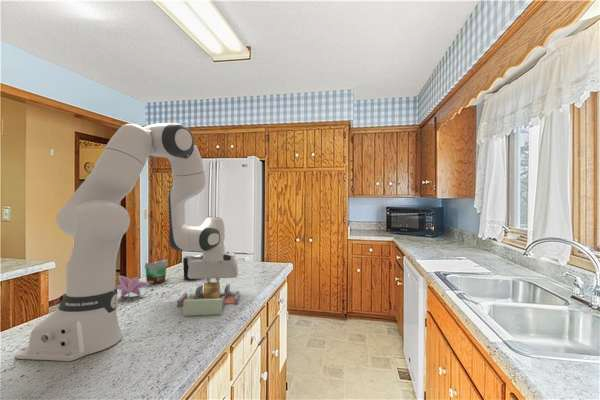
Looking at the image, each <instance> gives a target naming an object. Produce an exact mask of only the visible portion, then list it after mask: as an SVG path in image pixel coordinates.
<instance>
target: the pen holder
mask: <svg viewBox="0 0 600 400" xmlns="http://www.w3.org/2000/svg"><path fill="white" fill-rule="evenodd" d="M189 258H190V257H188V258H187V257H184V258H182V262H183V263H182V264H183V268H182V269H183V279H184V280H186V281H196V280H197V279H189V278H188V268H189V266H188V259H189Z"/></svg>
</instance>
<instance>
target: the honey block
mask: <svg viewBox="0 0 600 400" xmlns="http://www.w3.org/2000/svg"><path fill="white" fill-rule="evenodd" d="M220 286H221V283H220V281H219V282H217V281H211V282H210V283H208V282H204V283H203V299H220V298H221V295H220V294H221V288H220Z"/></svg>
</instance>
